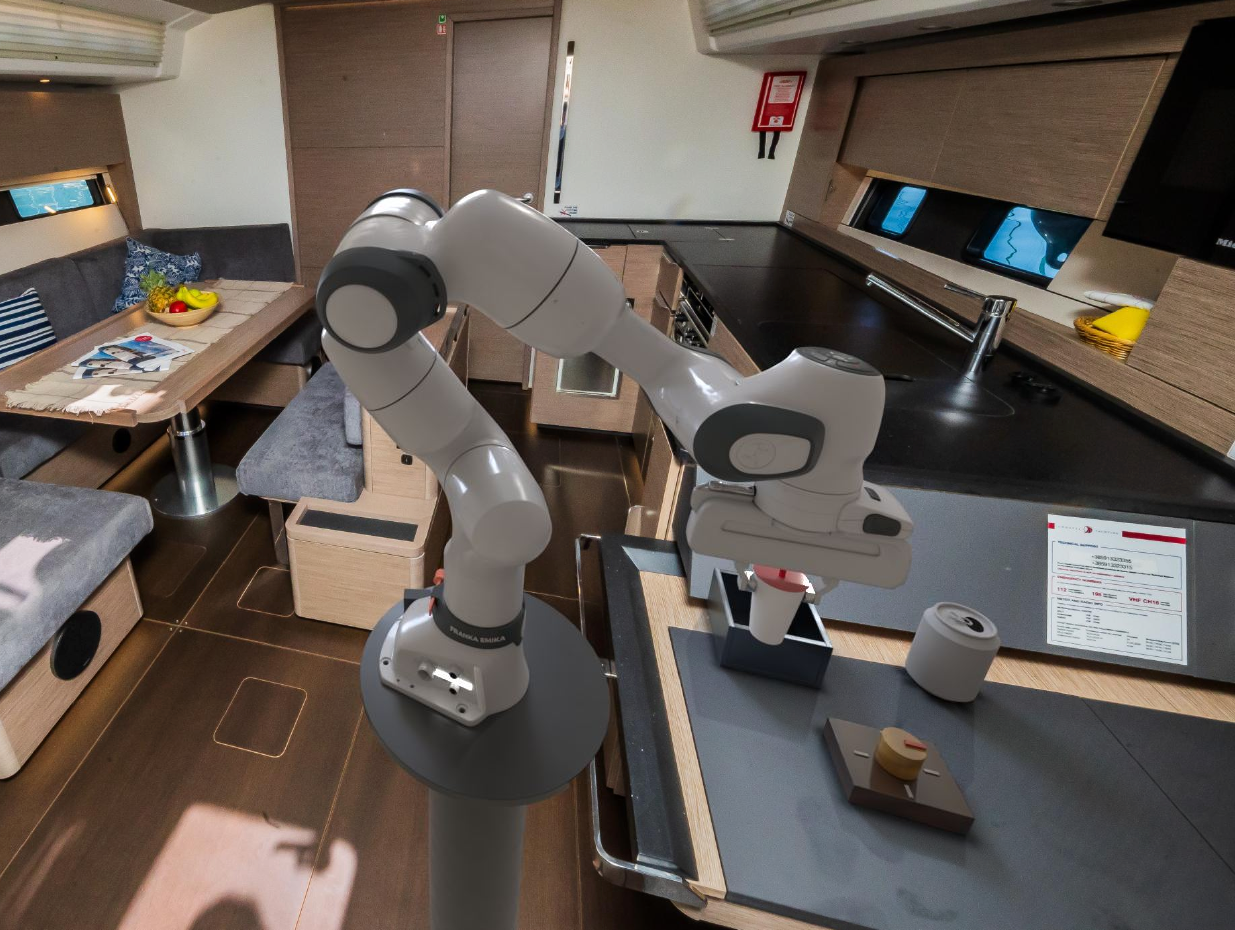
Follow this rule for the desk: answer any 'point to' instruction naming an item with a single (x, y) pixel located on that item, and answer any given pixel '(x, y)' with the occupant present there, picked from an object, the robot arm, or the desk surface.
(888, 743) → the tap knob
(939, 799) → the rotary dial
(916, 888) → the desk surface
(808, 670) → the dark open box
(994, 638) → the can
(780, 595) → the cup
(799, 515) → the robot arm
